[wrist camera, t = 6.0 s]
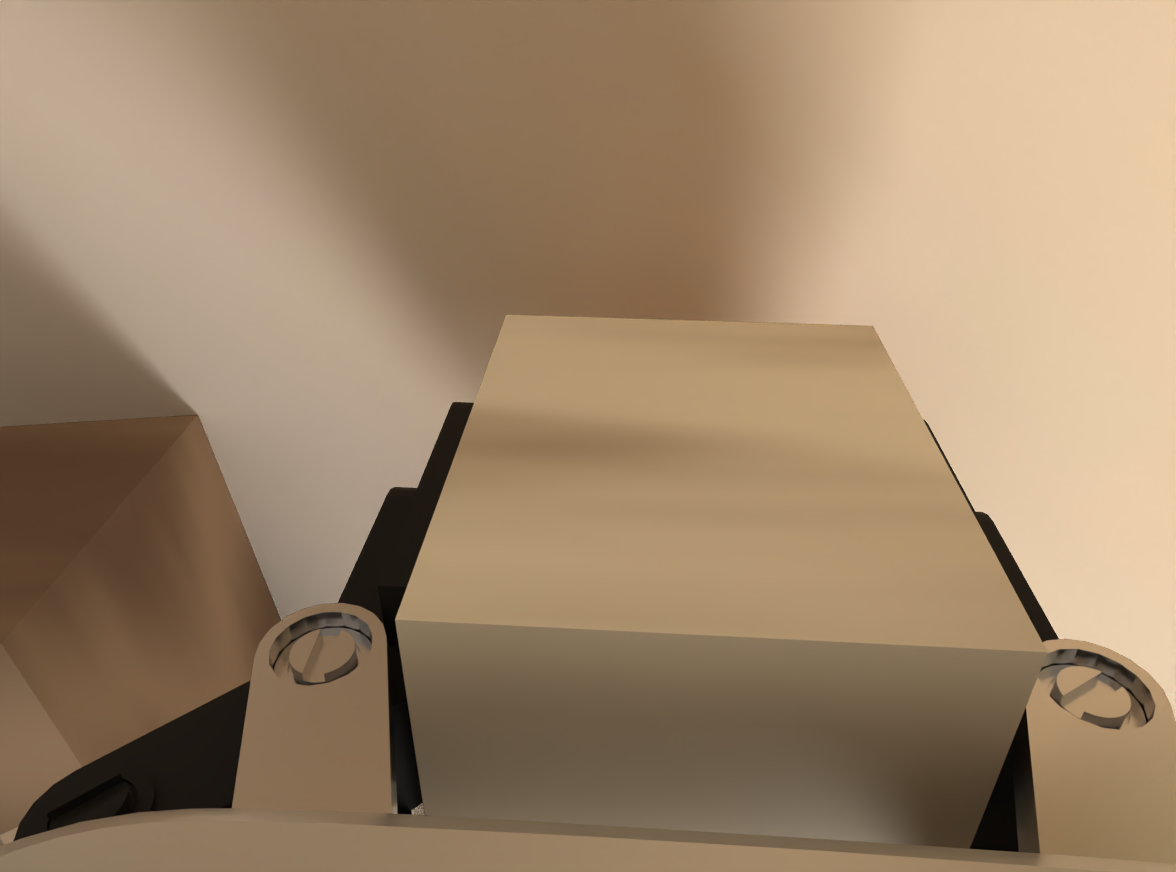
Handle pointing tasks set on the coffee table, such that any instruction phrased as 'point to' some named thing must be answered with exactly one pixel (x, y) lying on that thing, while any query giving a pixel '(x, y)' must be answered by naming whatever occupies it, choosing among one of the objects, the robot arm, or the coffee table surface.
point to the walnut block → (114, 592)
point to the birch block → (709, 593)
